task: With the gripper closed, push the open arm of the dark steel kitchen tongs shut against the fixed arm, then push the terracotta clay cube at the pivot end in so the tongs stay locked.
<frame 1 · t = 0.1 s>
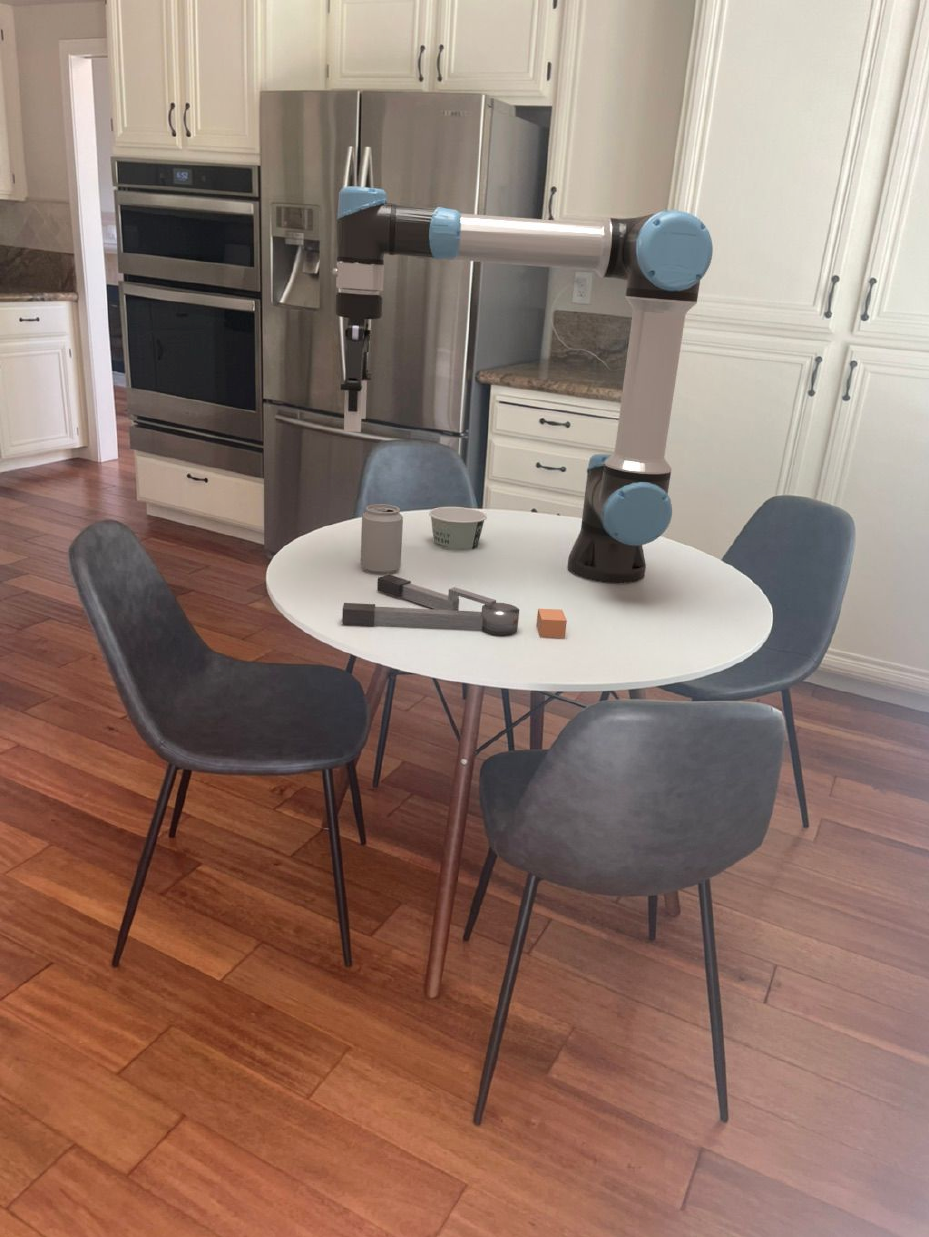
hand: (355, 424, 159), 28 cm above the table, fingers open, 13 cm apart
food container: (455, 545, 196), on the table
tongs fixed: (498, 629, 152), on the table
tongs arm: (435, 594, 158), point 2 cm above the table, hinge at 40.0°
terracotta clay cube: (551, 623, 152), point 1 cm above the table, slide at 3.0 cm
can: (380, 570, 176), on the table
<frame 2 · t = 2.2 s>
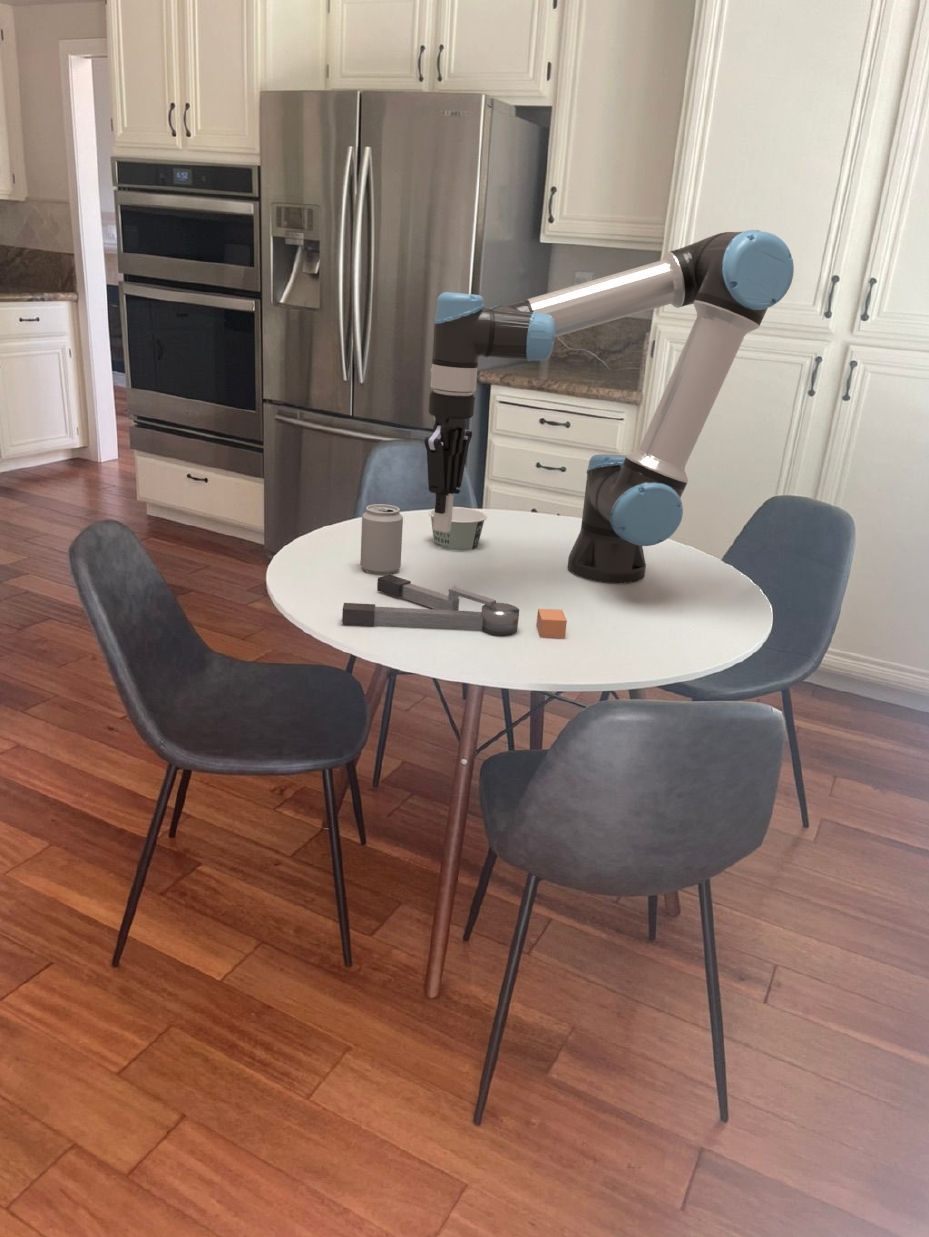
hand: (441, 530, 163), 11 cm above the table, fingers closed
nothing on the table moved.
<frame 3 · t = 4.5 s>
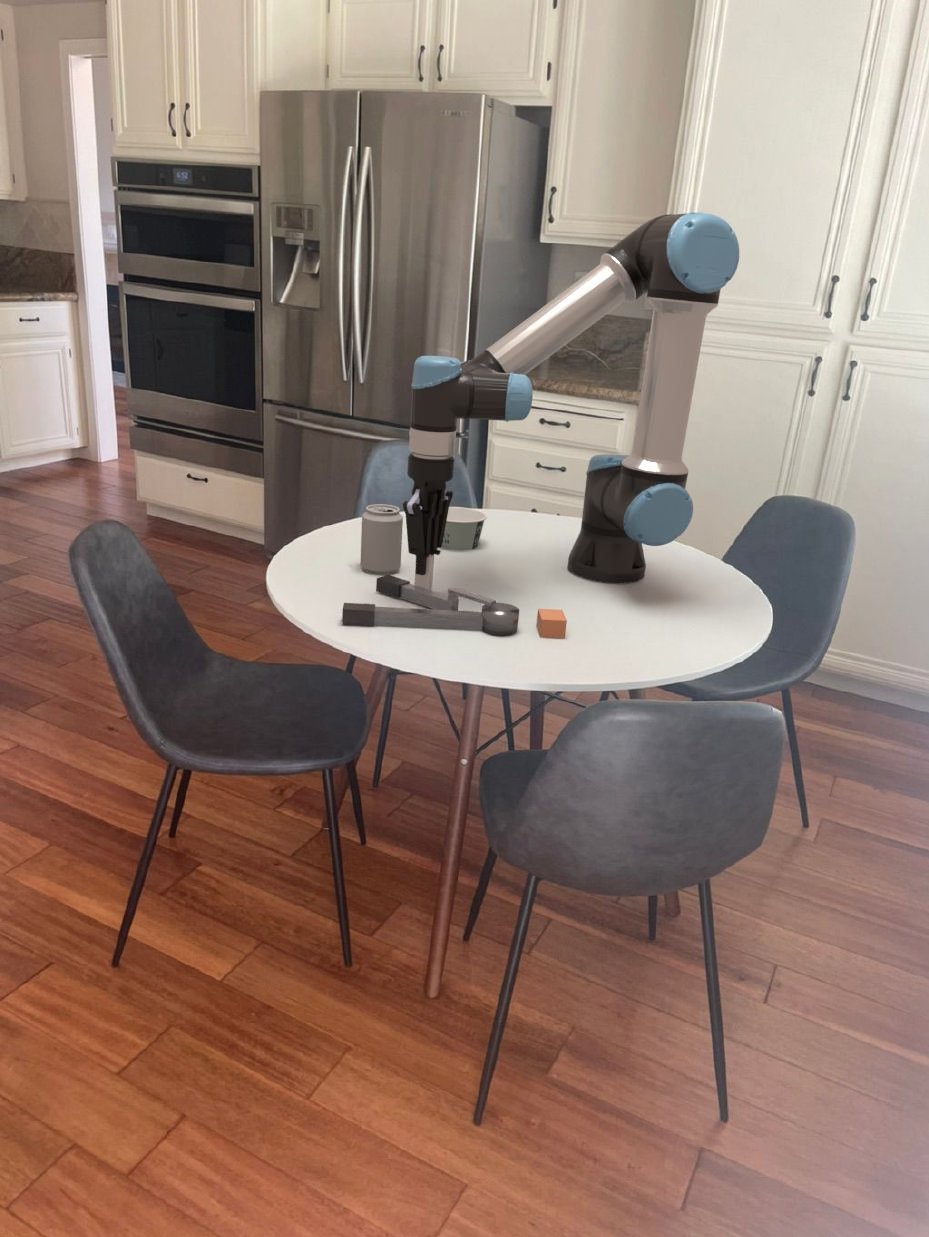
hand: (422, 590, 162), 2 cm above the table, fingers closed
tongs arm: (435, 595, 158), point 2 cm above the table, hinge at 39.3°, touching gripper
everything else where it was.
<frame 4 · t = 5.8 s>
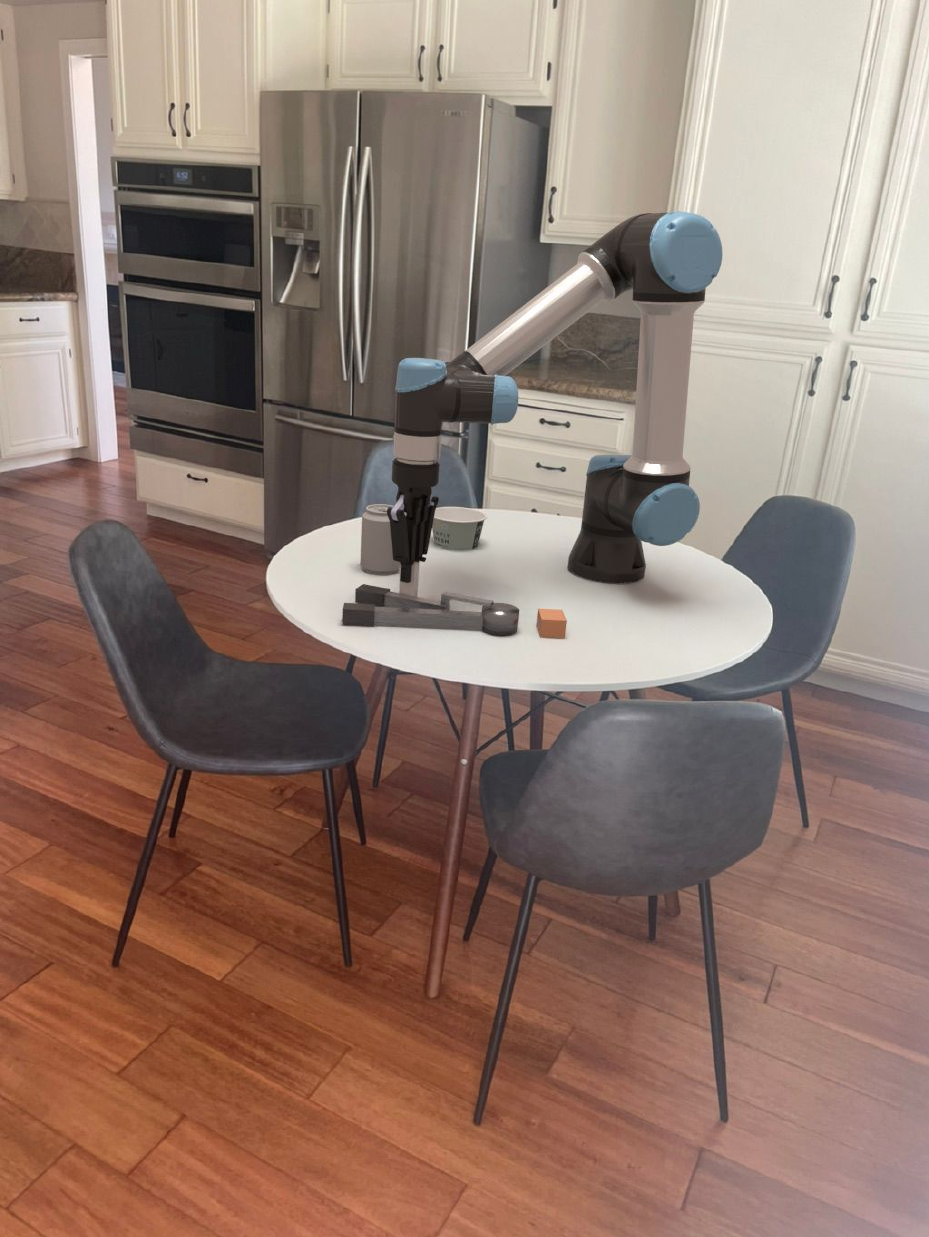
hand: (408, 598, 158), 1 cm above the table, fingers closed
tongs arm: (423, 600, 155), point 2 cm above the table, hinge at 23.2°, touching gripper
everything else where it was.
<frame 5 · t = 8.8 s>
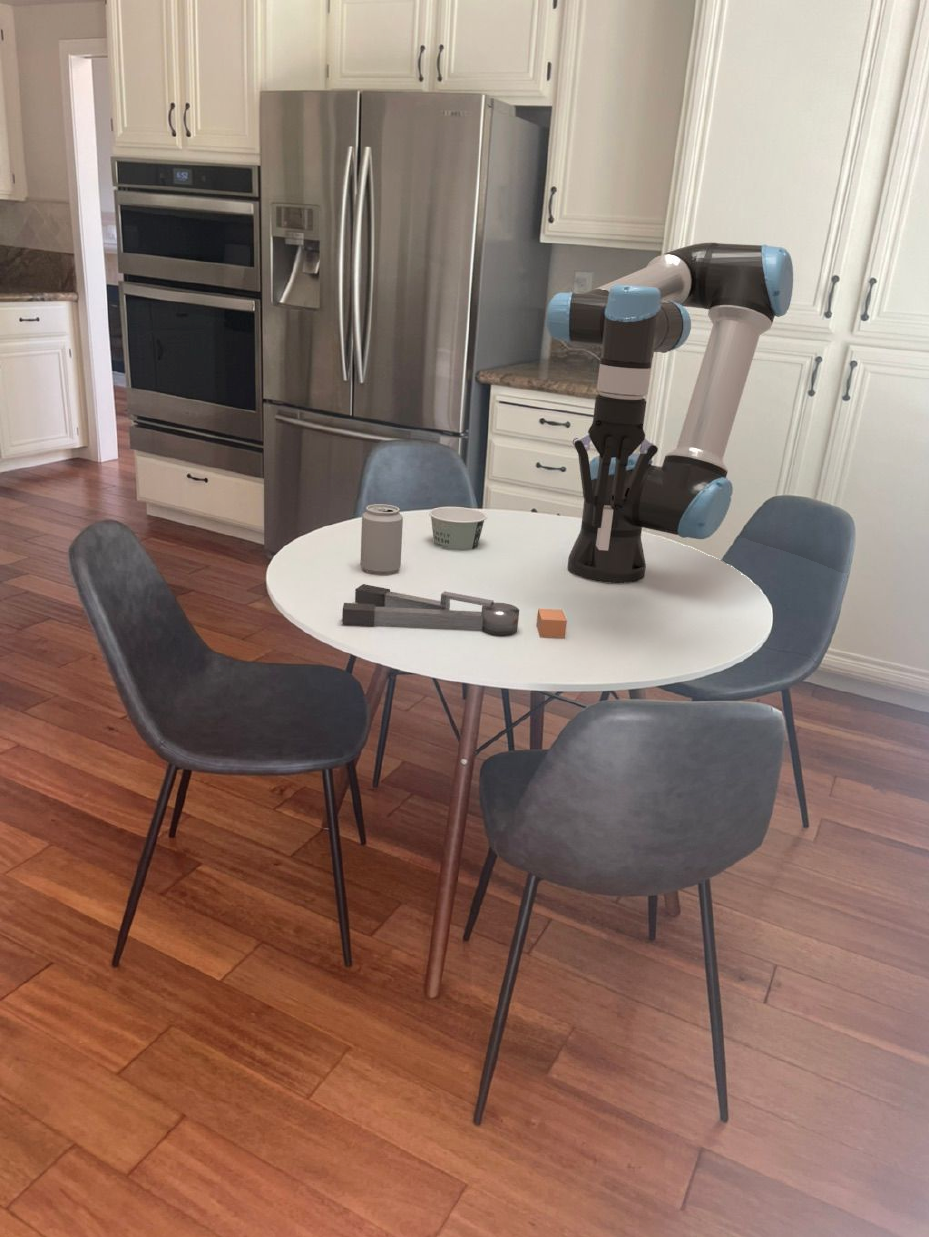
hand: (602, 547, 148), 14 cm above the table, fingers closed
tongs arm: (423, 600, 155), point 2 cm above the table, hinge at 23.1°
everything else where it was.
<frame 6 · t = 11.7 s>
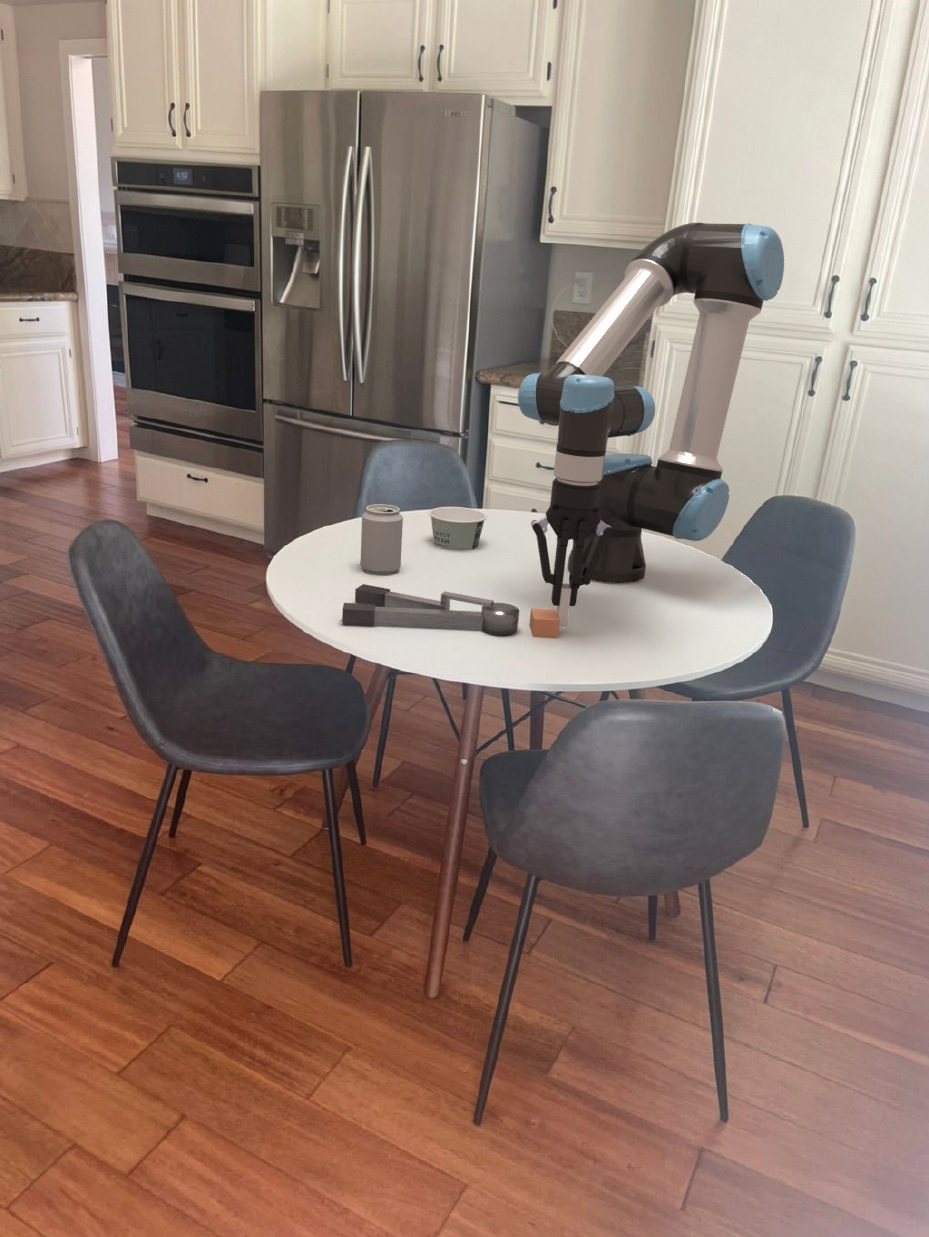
hand: (560, 624, 152), 1 cm above the table, fingers closed
terracotta clay cube: (544, 622, 152), point 2 cm above the table, slide at 1.8 cm, touching gripper
everything else where it was.
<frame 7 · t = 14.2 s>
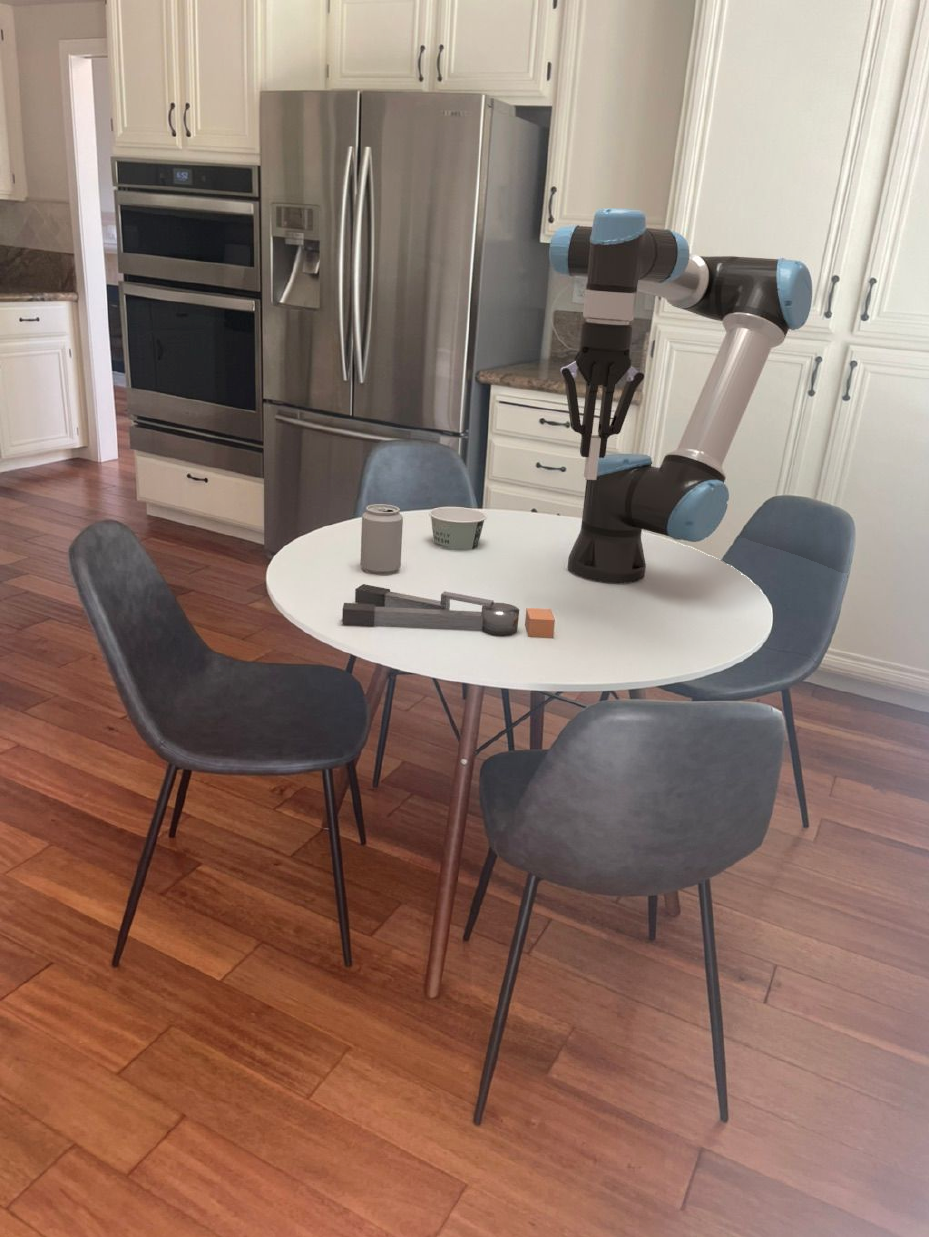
hand: (589, 477, 149), 24 cm above the table, fingers closed
terracotta clay cube: (539, 622, 152), point 1 cm above the table, slide at 1.1 cm
everything else where it was.
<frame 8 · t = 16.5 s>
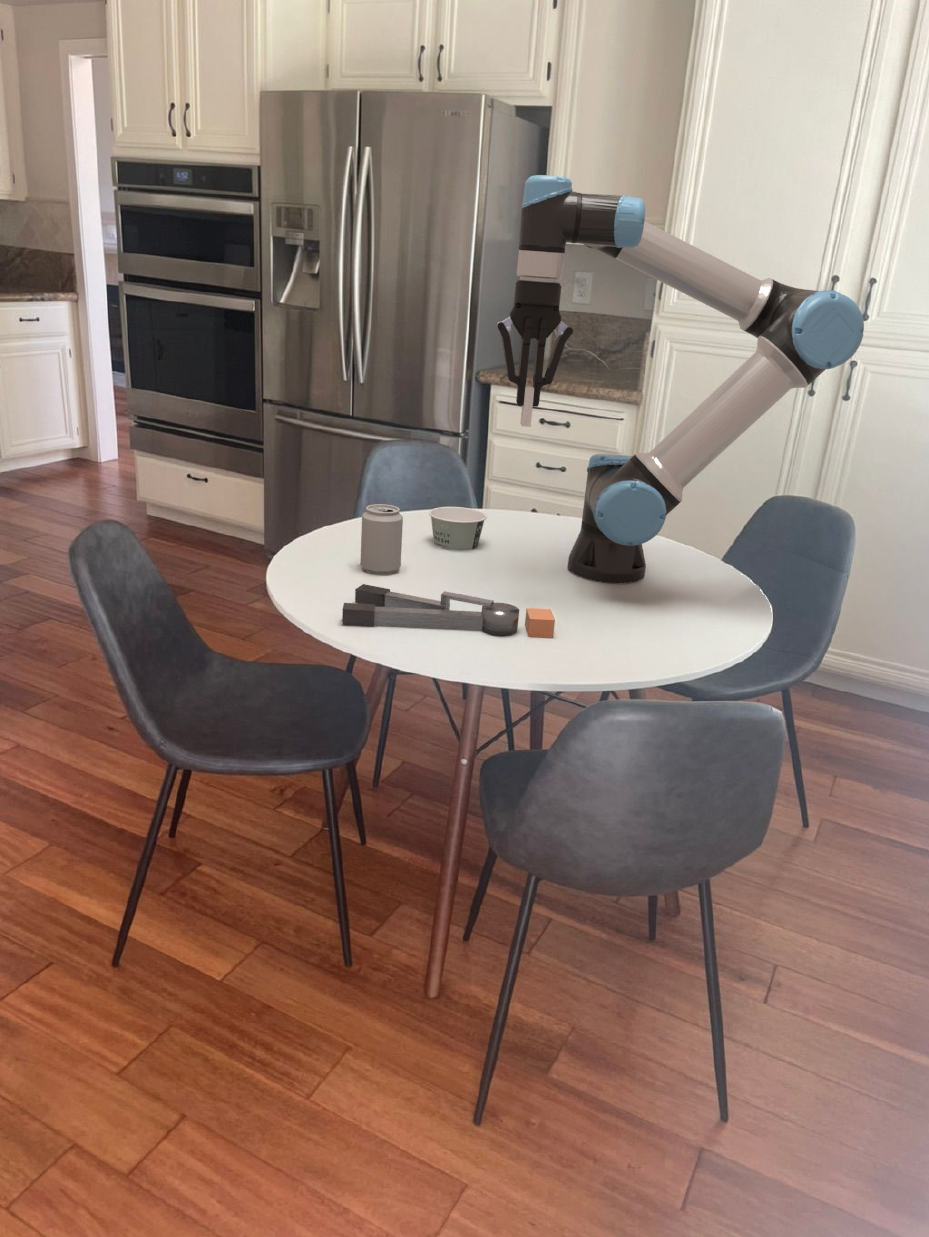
hand: (525, 425, 162), 29 cm above the table, fingers closed
nothing on the table moved.
at the end: tongs arm at +23° (first picture: +40°); terracotta clay cube slide at 1.1 cm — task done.
